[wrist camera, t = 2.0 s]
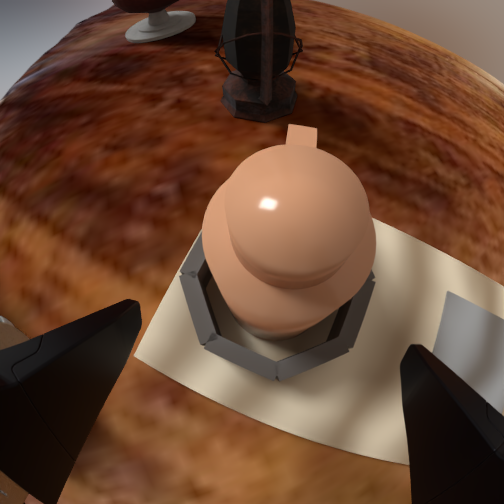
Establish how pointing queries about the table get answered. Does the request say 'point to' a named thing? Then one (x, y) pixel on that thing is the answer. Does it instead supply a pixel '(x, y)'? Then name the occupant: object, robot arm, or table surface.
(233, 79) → the lantern
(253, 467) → the table surface
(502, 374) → the board
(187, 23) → the mate gourd
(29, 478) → the robot arm
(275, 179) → the peach jug
